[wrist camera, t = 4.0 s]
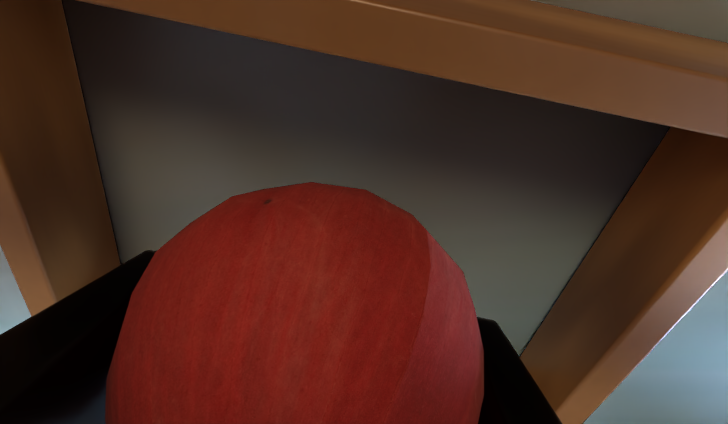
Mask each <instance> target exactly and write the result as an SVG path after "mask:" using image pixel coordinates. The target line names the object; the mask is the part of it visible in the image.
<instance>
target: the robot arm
mask: <svg viewBox="0 0 728 424" xmlns="http://www.w3.org/2000/svg"><path fill="white" fill-rule="evenodd" d="M155 252H156V251H153V250H147V251H144V252H142V253H141V254H139V255H137V256H135V257H134V258H132V259H130V260H129V261H127V262H125V263H123V264H122V265H120V266H118V267H116V268H115V269H113V270H111V271H110V272H108V273H106V274H104V275H103V276H101V277H99V278H98V279H96V280H94V281H92V282H91V283H89V284H87V285H85V286H84V287H82V288H80V289H79V290H77V291H75V292H73V293H72V294H70V295H68V296H66V297H65V298H63V299H61V300H60V301H58V302H56V303H54V304H53V305H51V306H49V307H47V308H46V309H44V310H42V311H41V312H39V313H37V314H35V315H34V316H32V317H30V318H28V319H27V320H25V321H23V322H22V323H20V324H18V325H16V326H15V327H13V328H11V329H9V330H8V331H6V332H4V333H3V334H1V335H0V424H106V423H105V405H106V381H107V375H108V372H109V368H110V365H111V361H112V358H113V355H114V351H115V348H116V344H117V341H118V338H119V334H120V331H121V328H122V324H123V321H124V318H125V315H126V311H127V308H128V305H129V301H130V298H131V295H132V292H133V290H134V289H135V287H136V285H137V284H138V282H139V280H140V278H141V277H142V275H143V273H144V271H145V270H146V268H147V266H148V264H149V263H150V261H151V259H152V257H153V256H154V254H155ZM477 321H478V326H479V330H480V335H481V340H482V345H483V349H484V397H483V401H482V406H481V411H480V416H479V420H478V424H562V422H561V421H560V419H559V417H558V416H557V414H556V413H555V411H554V410H553V408H552V407H551V405H550V404H549V402H548V400H547V399H546V397H545V396H544V394H543V393H542V391H541V390H540V388H539V387H538V385H537V383H536V382H535V380H534V379H533V377H532V376H531V374H530V373H529V371H528V370H527V368H526V367H525V365H524V363H523V362H522V360H521V359H520V357H519V356H518V354H517V353H516V351H515V350H514V348H513V346H512V345H511V343H510V342H509V340H508V339H507V337H506V336H505V334H504V333H503V331H502V330H501V328H500V326H499V325H498V324H497V323H496V322H495V321H494V320H490V319H485V318H480V317H477Z"/></svg>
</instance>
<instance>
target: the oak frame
mask: <svg viewBox="0 0 728 424" xmlns="http://www.w3.org/2000/svg"><path fill="white" fill-rule="evenodd" d="M77 1H81V2H86V3H91V4H96V5H100V6H105V7H110V8H114V9H119V10H124V11H129V12H133V13H138V14H143V15H147V16H152V17H157V18H162V19H166V20H171V21H176V22H180V23H185V24H190V25H195V26H199V27H204V28H209V29H213V30H218V31H223V32H227V33H232V34H237V35H242V36H246V37H251V38H256V39H260V40H265V41H270V42H275V43H279V44H284V45H289V46H293V47H298V48H303V49H308V50H312V51H317V52H322V53H326V54H331V55H336V56H341V57H345V58H350V59H355V60H359V61H364V62H369V63H374V64H378V65H383V66H388V67H392V68H397V69H402V70H407V71H411V72H416V73H421V74H425V75H430V76H435V77H440V78H444V79H449V80H454V81H458V82H463V83H468V84H473V85H477V86H482V87H487V88H491V89H496V90H501V91H506V92H510V93H515V94H520V95H524V96H529V97H534V98H539V99H543V100H548V101H553V102H557V103H562V104H567V105H571V106H576V107H581V108H586V109H590V110H595V111H600V112H604V113H609V114H614V115H619V116H623V117H628V118H633V119H637V120H642V121H647V122H652V123H656V124H661V125H666V126H670V129H669V130H668V132H667V133H666V135H665V136H664V138H663V140H662V141H661V143H660V144H659V146H658V147H657V149H656V150H655V152H654V153H653V155H652V156H651V158H650V159H649V161H648V162H647V164H646V165H645V167H644V168H643V170H642V172H641V173H640V175H639V176H638V178H637V179H636V181H635V182H634V184H633V185H632V187H631V188H630V190H629V191H628V193H627V194H626V196H625V197H624V199H623V201H622V202H621V204H620V205H619V207H618V208H617V210H616V211H615V213H614V214H613V216H612V217H611V219H610V220H609V222H608V223H607V225H606V226H605V228H604V229H603V231H602V233H601V234H600V236H599V237H598V239H597V240H596V242H595V243H594V245H593V246H592V248H591V249H590V251H589V252H588V254H587V255H586V257H585V258H584V260H583V261H582V263H581V265H580V266H579V268H578V269H577V271H576V272H575V274H574V275H573V277H572V278H571V280H570V281H569V283H568V284H567V286H566V287H565V289H564V290H563V292H562V293H561V295H560V297H559V298H558V300H557V301H556V303H555V304H554V306H553V307H552V309H551V310H550V312H549V313H548V315H547V316H546V318H545V319H544V321H543V322H542V324H541V325H540V327H539V329H538V330H537V332H536V333H535V335H534V336H533V338H532V339H531V341H530V342H529V344H528V345H527V347H526V348H525V350H524V351H523V353H522V354H521V356H520V359H521V360H522V362H523V363H524V365H525V367H526V368H527V370H528V371H529V373H530V374H531V376H532V377H533V379H534V380H535V382H536V383H537V385H538V387H539V388H540V390H541V391H542V393H543V394H544V396H545V397H546V399H547V400H548V402H549V404H550V405H551V407H552V408H553V410H554V411H555V413H556V414H557V416H558V417H559V419H560V421H561V422H562V424H583V423H584V422H585V420H586V419H587V418H588V417H589V416H590V415H591V414H592V413H593V412H594V411H595V410H596V409H597V408H598V407H599V406H600V405H601V404H602V403H603V401H604V400H605V399H606V398H607V397H608V396H609V395H610V394H611V393H612V392H613V391H614V390H615V389H616V388H617V387H618V386H619V385H620V384H621V383H622V381H623V380H624V379H625V378H626V377H627V376H628V375H629V374H630V373H631V372H632V371H633V370H634V369H635V368H636V367H637V366H638V365H639V364H640V362H641V361H642V360H643V359H644V358H645V357H646V356H647V355H648V354H649V353H650V352H651V351H652V350H653V349H654V348H655V347H656V346H657V345H658V343H659V342H660V341H661V340H662V339H663V338H664V337H665V336H666V335H667V334H668V333H669V332H670V331H671V330H672V329H673V328H674V327H675V326H676V325H677V323H678V322H679V321H680V320H681V319H682V318H683V317H684V316H685V315H686V314H687V313H688V312H689V311H690V310H691V309H692V308H693V307H694V306H695V304H696V303H697V302H698V301H699V300H700V299H701V298H702V297H703V296H704V295H705V294H706V293H707V292H708V291H709V290H710V289H711V288H712V287H713V286H714V284H715V283H716V282H717V281H718V280H719V279H720V278H721V277H722V276H723V275H724V274H725V273H726V272H727V271H728V43H725V42H721V41H716V40H712V39H707V38H702V37H698V36H693V35H688V34H684V33H679V32H674V31H670V30H665V29H661V28H656V27H651V26H647V25H642V24H637V23H633V22H628V21H624V20H619V19H614V18H610V17H605V16H600V15H596V14H591V13H587V12H582V11H577V10H573V9H568V8H563V7H559V6H554V5H550V4H545V3H540V2H536V1H531V0H77ZM0 245H1V248H2V250H3V252H4V255H5V257H6V259H7V261H8V264H9V266H10V268H11V271H12V273H13V275H14V277H15V280H16V282H17V284H18V287H19V289H20V291H21V293H22V296H23V298H24V300H25V303H26V305H27V307H28V309H29V312H30V314H31V316H34V315H35V314H37V313H39V312H41V311H42V310H44V309H46V308H47V307H49V306H51V305H53V304H54V303H56V302H58V301H60V300H61V299H63V298H65V297H66V296H68V295H70V294H72V293H73V292H75V291H77V290H79V289H80V288H82V287H84V286H85V285H87V284H89V283H91V282H92V281H94V280H96V279H98V278H99V277H101V276H103V275H104V274H106V273H108V272H110V271H111V270H113V269H115V268H116V267H118V266H120V260H119V256H118V251H117V247H116V242H115V238H114V233H113V229H112V224H111V220H110V215H109V211H108V206H107V202H106V198H105V193H104V189H103V184H102V180H101V175H100V171H99V166H98V162H97V157H96V153H95V148H94V144H93V139H92V135H91V130H90V126H89V121H88V117H87V112H86V108H85V103H84V99H83V94H82V90H81V86H80V81H79V77H78V72H77V68H76V63H75V59H74V54H73V50H72V45H71V41H70V36H69V32H68V27H67V23H66V18H65V14H64V9H63V5H62V0H0Z"/></svg>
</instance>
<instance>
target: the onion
mask: <svg viewBox="0 0 728 424" xmlns="http://www.w3.org/2000/svg"><path fill="white" fill-rule="evenodd" d="M483 397H484V349H483V345H482V340H481V335H480V330H479V326H478V321H477V316H476V312H475V308H474V305H473V301H472V298H471V295H470V292H469V289H468V286H467V283H466V280H465V276H464V273H463V271H462V270H461V269H460V268H459V266H458V265H457V264H456V263H455V262H454V261H453V260H452V258H451V257H450V256H449V255H448V254H447V253H446V252H445V251H444V249H443V248H442V247H441V246H440V245H439V244H438V243H437V241H436V240H435V239H434V238H433V237H432V236H431V235H430V233H429V232H428V231H427V230H426V229H425V228H424V227H423V226H422V225H421V224H420V222H419V221H418V220H417V219H416V218H415V217H414V216H413V215H412V214H410V213H408V212H407V211H405V210H403V209H401V208H399V207H397V206H395V205H393V204H392V203H390V202H388V201H386V200H384V199H382V198H380V197H378V196H377V195H375V194H373V193H371V192H369V191H367V190H364V189H357V188H350V187H343V186H336V185H328V184H321V183H314V182H309V183H302V184H295V185H288V186H281V187H275V188H268V189H262V190H258V191H253V192H249V193H245V194H240V195H236V196H232V197H230V198H229V199H227V200H226V201H224V202H222V203H221V204H219V205H218V206H216V207H215V208H213V209H211V210H210V211H208V212H207V213H205V214H204V215H202V216H200V217H199V218H197V219H196V220H194V221H193V222H191V223H190V224H189V225H187V226H186V227H185V228H184V229H183V230H181V231H180V232H179V233H178V234H176V235H175V236H174V237H173V238H172V239H170V240H169V241H168V242H167V243H166V244H164V245H163V246H162V247H161V248H160V249H158V250H157V251H156V252H155V254H154V256H153V257H152V259H151V261H150V263H149V264H148V266H147V268H146V270H145V271H144V273H143V275H142V277H141V278H140V280H139V282H138V284H137V285H136V287H135V289H134V290H133V292H132V295H131V298H130V301H129V305H128V308H127V311H126V315H125V318H124V321H123V324H122V328H121V331H120V334H119V338H118V341H117V344H116V348H115V351H114V355H113V358H112V361H111V365H110V368H109V372H108V375H107V381H106V405H105V423H106V424H478V420H479V416H480V411H481V406H482V401H483Z"/></svg>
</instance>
